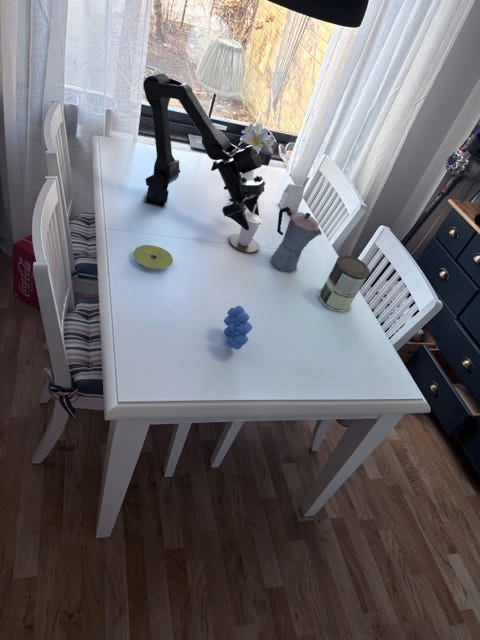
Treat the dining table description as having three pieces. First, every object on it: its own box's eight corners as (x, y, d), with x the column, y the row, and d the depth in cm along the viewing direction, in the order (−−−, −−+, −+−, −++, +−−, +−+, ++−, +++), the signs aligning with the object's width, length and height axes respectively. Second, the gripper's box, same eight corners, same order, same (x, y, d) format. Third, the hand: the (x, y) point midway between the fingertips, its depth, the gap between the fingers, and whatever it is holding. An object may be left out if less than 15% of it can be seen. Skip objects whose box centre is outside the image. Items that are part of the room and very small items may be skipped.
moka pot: (295, 281, 152) (320, 228, 139) (255, 256, 155) (276, 203, 142) (307, 270, 159) (332, 218, 146) (269, 247, 162) (290, 194, 149)
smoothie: (247, 236, 162) (260, 200, 153) (256, 248, 158) (270, 211, 149) (231, 237, 159) (243, 200, 150) (239, 248, 155) (252, 211, 146)
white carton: (296, 211, 188) (306, 188, 182) (281, 209, 185) (290, 186, 179) (293, 206, 190) (302, 183, 184) (278, 204, 188) (287, 181, 181)
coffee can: (312, 295, 148) (330, 259, 139) (330, 286, 155) (349, 251, 146) (337, 316, 144) (357, 280, 135) (355, 306, 151) (376, 271, 142)
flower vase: (253, 180, 197) (273, 121, 181) (260, 203, 184) (282, 141, 168) (222, 174, 193) (240, 112, 177) (228, 197, 180) (247, 132, 164)
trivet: (224, 243, 155) (224, 242, 155) (236, 231, 163) (236, 230, 163) (251, 257, 154) (252, 255, 154) (262, 244, 162) (262, 243, 162)
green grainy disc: (140, 245, 142) (141, 240, 140) (176, 258, 142) (177, 253, 141) (126, 265, 133) (127, 259, 132) (164, 279, 133) (165, 273, 132)
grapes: (252, 360, 120) (267, 327, 112) (227, 361, 117) (241, 327, 109) (238, 327, 127) (252, 294, 120) (215, 327, 125) (227, 293, 117)
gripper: (243, 179, 136) (265, 228, 142) (264, 160, 150) (284, 206, 156) (211, 191, 142) (234, 238, 148) (235, 173, 156) (255, 216, 162)
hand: (253, 224), depth 153 cm, fingers open, 9 cm apart
